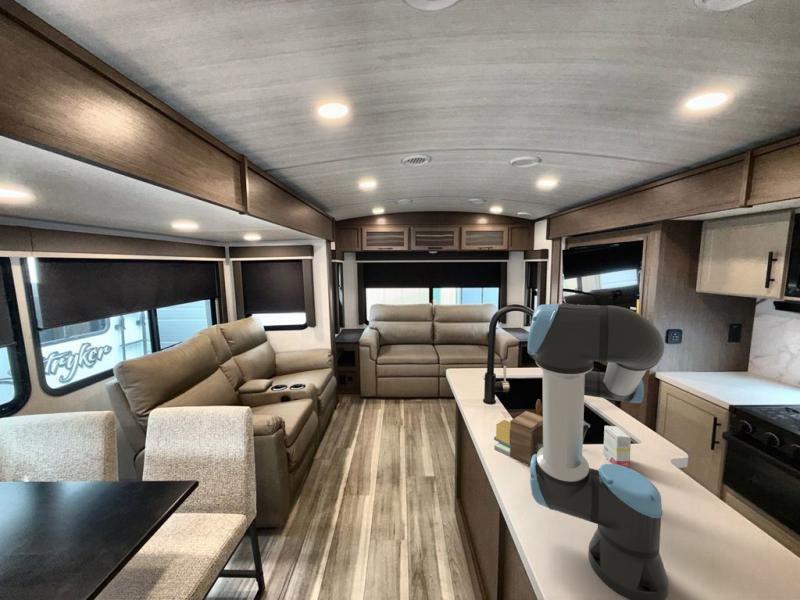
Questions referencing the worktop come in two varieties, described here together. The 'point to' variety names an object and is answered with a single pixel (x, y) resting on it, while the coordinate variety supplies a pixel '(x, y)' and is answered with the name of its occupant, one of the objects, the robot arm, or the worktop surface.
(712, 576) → the worktop surface
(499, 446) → the deck
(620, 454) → the ink box
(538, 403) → the hand bell
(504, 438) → the yellow angular block
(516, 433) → the wooden house block
